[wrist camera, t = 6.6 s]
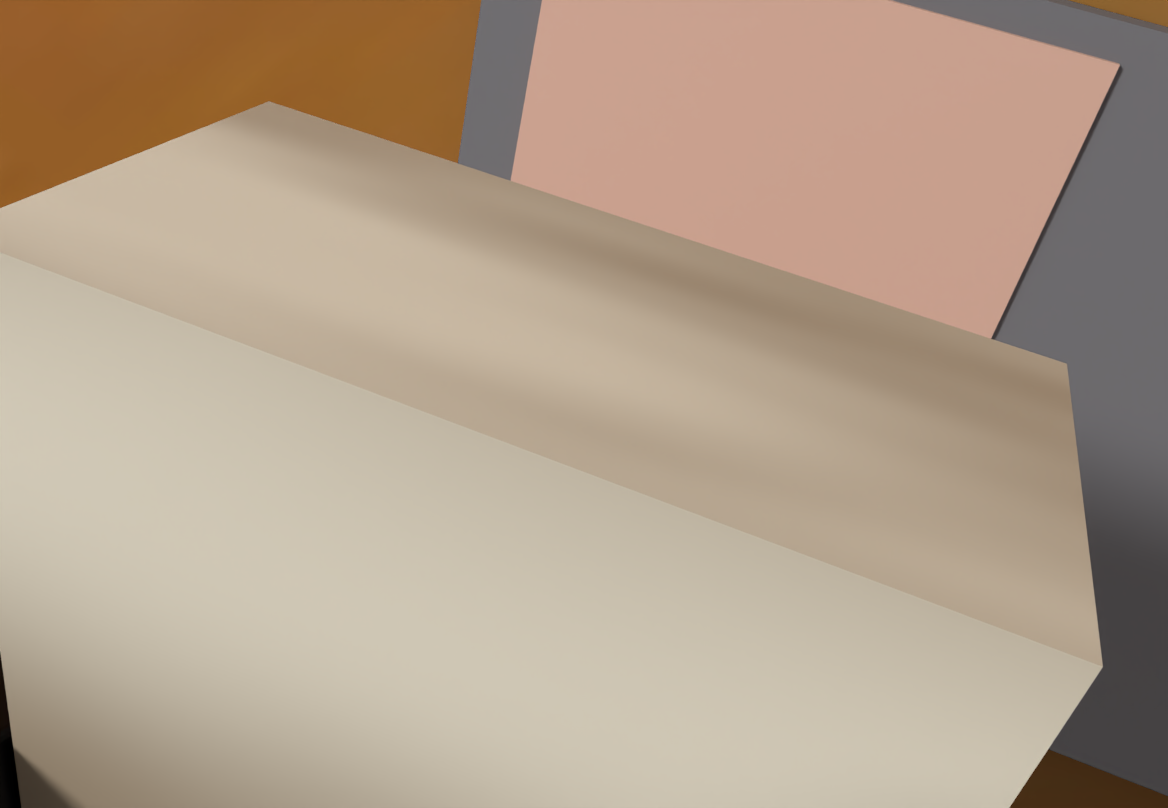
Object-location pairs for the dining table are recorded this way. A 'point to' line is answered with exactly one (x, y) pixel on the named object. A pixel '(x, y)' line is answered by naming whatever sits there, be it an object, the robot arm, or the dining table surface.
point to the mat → (902, 213)
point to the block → (504, 504)
